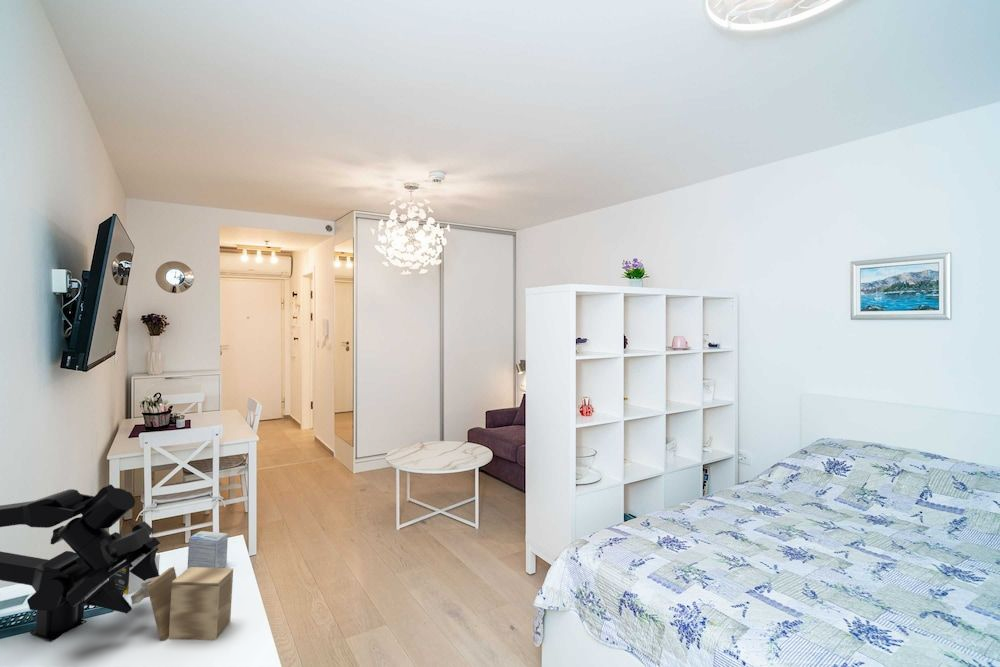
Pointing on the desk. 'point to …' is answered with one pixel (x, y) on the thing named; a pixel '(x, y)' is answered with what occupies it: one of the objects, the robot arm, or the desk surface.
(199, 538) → the medicine box
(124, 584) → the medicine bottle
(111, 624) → the desk surface
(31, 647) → the desk surface
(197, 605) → the carton
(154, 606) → the flap
